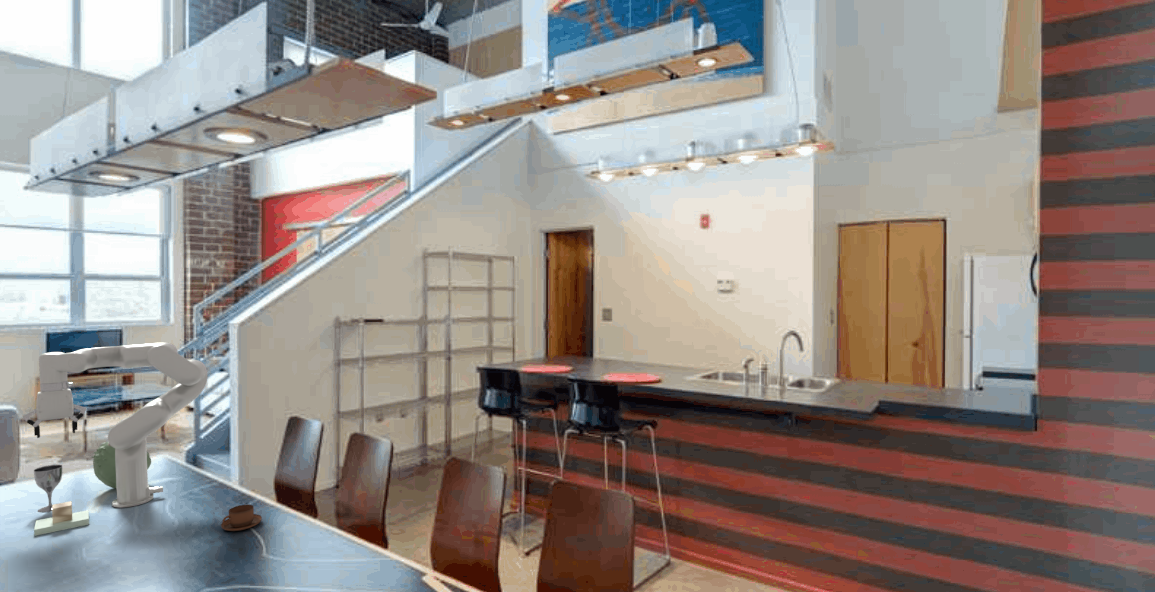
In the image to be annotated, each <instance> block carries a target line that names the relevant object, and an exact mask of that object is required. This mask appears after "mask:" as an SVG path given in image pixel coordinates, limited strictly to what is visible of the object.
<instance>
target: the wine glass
mask: <svg viewBox="0 0 1155 592" xmlns="http://www.w3.org/2000/svg"><path fill="white" fill-rule="evenodd" d="M63 472H64V471H63V465H62V464H50V465H43V466H40V467H37V468H34V469H33V476H34V477H33V478H34V481H35V484H36V486H37V487H38V488H40V489H41V490H43V491H44V492H45V493H46V495H47V499H48V505H46V506H44V507H41V508H38V510H37V513H49V512H52V506H53V505H54V504H52V496H53V491H54V490H55V489H56V488H57V487H58V486H59V484H60V483H61V481H62V479H63Z"/></svg>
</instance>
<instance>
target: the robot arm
mask: <svg viewBox="0 0 1155 592" xmlns="http://www.w3.org/2000/svg"><path fill="white" fill-rule="evenodd" d="M106 367H118V368H122V369H134V368H143V367H154V369H155V370H158V371H159V372H160V373H162V374H164V375H165V376H167V377H169V378H170V379H171V380H174V381H175V382H177V384H176V385H174V386H173V387H171V388H170V389H169V390H167V391H166V392H164V393H162V394H161V395H160V396H158V397H157V398H154V399H152V400H151V401H149V402H147V403H146V404H145V405H143V406H142V407H141V408H140V409H138V410H137V411H136V412H134V413H132V414H131V415H129V416H128V417H124V418H122V419H121V420H119V421H118V422H117V423H116V424H115V425H114V426H112V427H111V429H110V430H109V431H108V434H107V442H109V444H110V445H111V446H112V447H114V448H115V466H116V487H117V488H116V498H115V499H113V501H112V502H111V506H112V507H114V508H119V509H120V508H121V509H122V508H131V507H136V506H139V505H143V504H147V503H148V502H151V501H153V499H154V494H157V493H164V487H163V486H160V487H159V486H154V487H151V486H150V484H149V481H148V478H149V477H148V470H147V452H148V450H147V442H148V441H147V439H148V437H149V436H150V435H151V434H154V433H155V432H156V431H158V430H159V429H160V428H162V427H164V426H165V424H167V422H168V421H169V420H170V419H171V418H172V417H173V416H174V415H176V414H177V413H178V412H180V411H181V410H182V409H184V408H186V407H187V406H188V405H189V404H191V403H192V402H193V401H195V400H196V399H197V398H198V397H199V396H200V395H201V394H202V392H203V390H204V389H205V387H206V384H207V382H208V370H207V366H206V365H205V363H204V362H202V361H201V360H197V359H191V360H189V359H187V358H186V357H184V356H183V355H181V354H179V353H178V349H177V347H176V346H175V345H174V344H173V343H170V342H165V341H164V342H153V343H141V344H140V343H139V344H129V345H128V344H126V345H119V346H117V345H116V346H114V345H113V346H101V347H91V348H88V347H87V348H81V349H77V350H75V351H72V352H66V353H65V352H62V351H51V352H50V351H49V352H45V353H44V352H43V353H41V354H39V356H38V372H39V374H38V375H39V388H40V389H39V391H38V392H37V394H36V404H35V405H36V406H35V407H36V408H35V409H32V410H30V411H29V412H27V413H24V414H23V415H22V418H23V419H24V420H25V422H26V423H27V424H28V425H31V426H32V427H33V430H34V431H33V432H34V434H33V435H34V436H36V438H37V439H40V438H41V430H40V428H41V427H40V424H41V423H42V422H44V421H52V420H60V419H66V418H67V419H68V418H69V419H70V420H72V421H71V428H72V429H71V431H72V434H76V431H77V430H78V422H79V420H81V418H82V417H83V416H84V414H85V413H86V411H87V407H85V406H81V405H78V404H74V400H73V399H74V397H73V394H72V390H71V388H69V387H73V386H74V383H73V382H72V381H71V382H70V381H68V373H82V372H84V371H86V370H89V369H94V368H95V369H96V368H106ZM74 410H78V411H80V412H79V413H78V414H76V415H74ZM35 414H36V420H35V421H34V420H33V419H31V416H33V415H35Z"/></svg>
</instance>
